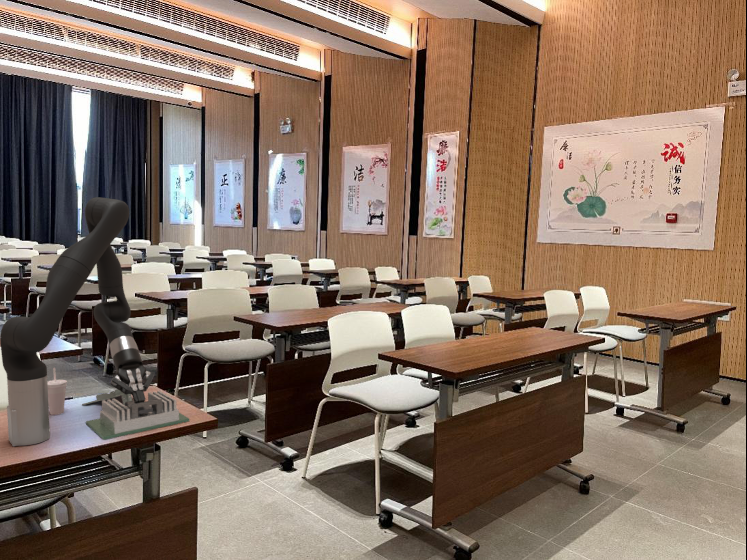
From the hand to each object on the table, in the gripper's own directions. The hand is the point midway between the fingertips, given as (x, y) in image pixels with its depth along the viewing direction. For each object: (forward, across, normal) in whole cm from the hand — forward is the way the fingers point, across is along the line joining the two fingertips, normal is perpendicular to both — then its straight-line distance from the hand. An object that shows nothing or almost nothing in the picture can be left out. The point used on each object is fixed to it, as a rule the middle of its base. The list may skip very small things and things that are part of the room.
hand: (141, 403), depth 170 cm
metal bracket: (-16, +1, +26) cm, 30 cm away
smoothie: (-15, -16, +25) cm, 33 cm away
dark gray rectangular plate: (-4, 0, +6) cm, 7 cm away
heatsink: (+2, 0, +7) cm, 7 cm away
